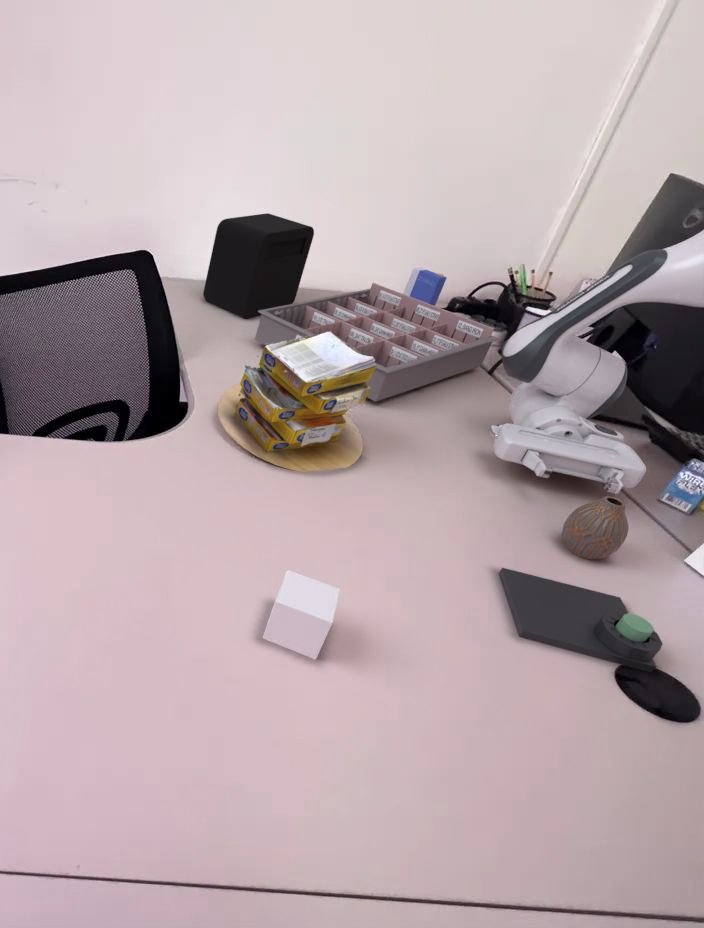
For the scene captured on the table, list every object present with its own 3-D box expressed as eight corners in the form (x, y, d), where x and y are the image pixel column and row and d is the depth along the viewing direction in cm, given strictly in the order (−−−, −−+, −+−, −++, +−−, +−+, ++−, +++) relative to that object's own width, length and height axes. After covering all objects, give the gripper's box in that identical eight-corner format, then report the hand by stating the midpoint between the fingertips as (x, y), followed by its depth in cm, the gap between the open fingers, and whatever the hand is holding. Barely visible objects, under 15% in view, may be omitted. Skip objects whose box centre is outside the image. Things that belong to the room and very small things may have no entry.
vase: (583, 569, 92) (619, 519, 87) (542, 537, 98) (573, 488, 93) (620, 563, 94) (657, 514, 89) (578, 532, 99) (611, 484, 94)
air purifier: (248, 289, 179) (267, 210, 168) (293, 307, 170) (317, 225, 159) (197, 300, 168) (214, 217, 157) (242, 320, 159) (264, 234, 148)
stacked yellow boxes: (390, 469, 109) (431, 376, 100) (250, 476, 104) (280, 378, 94) (314, 397, 129) (343, 314, 119) (193, 399, 123) (213, 312, 114)
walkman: (428, 323, 170) (447, 276, 163) (420, 324, 169) (440, 276, 162) (402, 311, 175) (420, 265, 168) (395, 312, 174) (413, 266, 167)
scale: (619, 604, 87) (632, 588, 85) (655, 674, 77) (671, 657, 75) (497, 574, 90) (508, 557, 88) (518, 637, 80) (530, 620, 78)
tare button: (639, 628, 80) (648, 617, 79) (649, 646, 77) (658, 635, 76) (611, 620, 80) (619, 610, 79) (620, 638, 78) (628, 628, 77)
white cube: (323, 626, 79) (340, 589, 75) (315, 661, 74) (332, 623, 71) (272, 606, 81) (286, 569, 77) (261, 639, 76) (276, 601, 73)
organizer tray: (248, 345, 147) (259, 301, 141) (358, 319, 167) (372, 280, 161) (373, 411, 126) (393, 362, 121) (483, 372, 146) (504, 329, 141)
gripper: (495, 406, 112) (514, 446, 101) (633, 435, 108) (668, 480, 97) (479, 439, 116) (495, 481, 105) (611, 468, 112) (643, 515, 101)
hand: (579, 481), depth 101 cm, fingers open, 8 cm apart
